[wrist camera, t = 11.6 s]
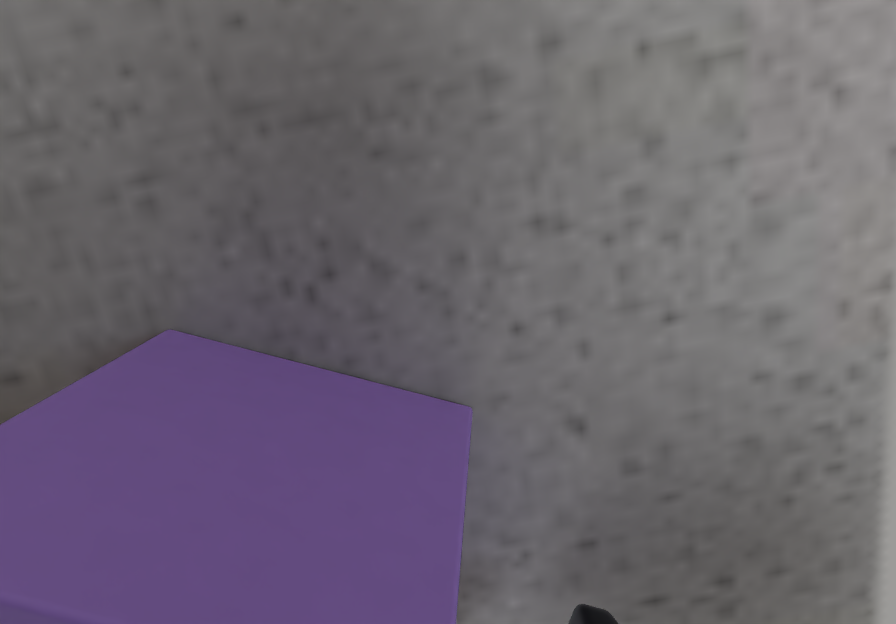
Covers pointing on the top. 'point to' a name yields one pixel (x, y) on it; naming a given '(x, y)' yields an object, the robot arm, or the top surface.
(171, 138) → the top surface
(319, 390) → the block
